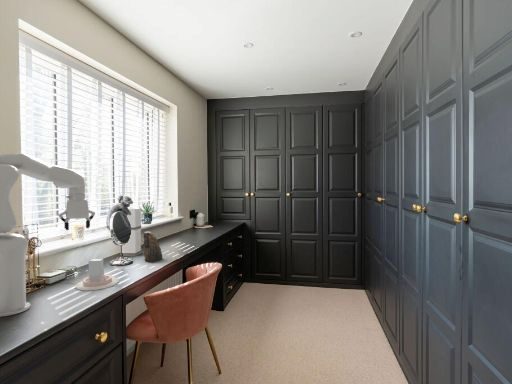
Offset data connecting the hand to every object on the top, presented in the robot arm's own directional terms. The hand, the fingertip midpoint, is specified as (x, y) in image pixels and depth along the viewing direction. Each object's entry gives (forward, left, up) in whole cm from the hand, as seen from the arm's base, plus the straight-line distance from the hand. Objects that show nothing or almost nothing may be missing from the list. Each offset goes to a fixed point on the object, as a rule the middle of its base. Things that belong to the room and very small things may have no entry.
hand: (77, 228), depth 161 cm
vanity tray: (+6, -13, -28) cm, 32 cm away
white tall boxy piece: (+46, +46, -28) cm, 71 cm away
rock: (+50, +17, -28) cm, 60 cm away
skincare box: (+5, -13, -28) cm, 31 cm away
